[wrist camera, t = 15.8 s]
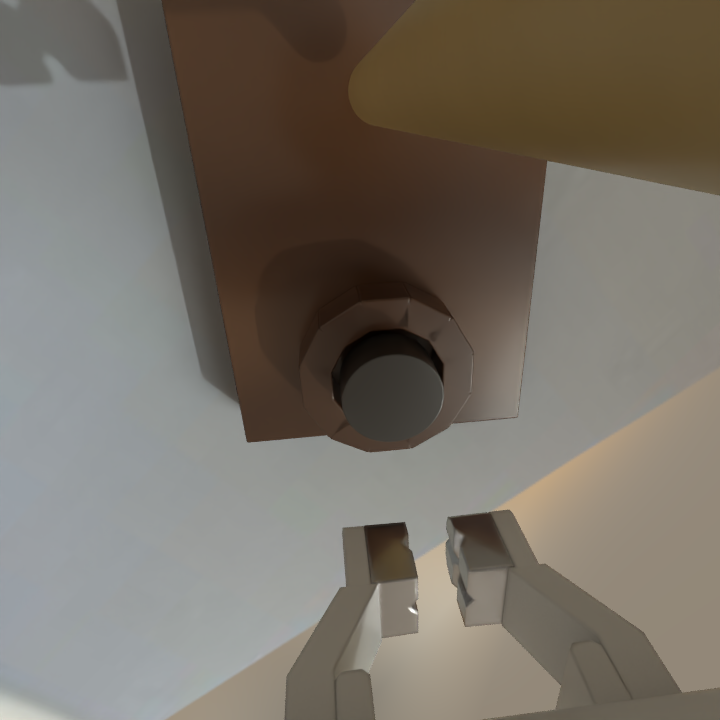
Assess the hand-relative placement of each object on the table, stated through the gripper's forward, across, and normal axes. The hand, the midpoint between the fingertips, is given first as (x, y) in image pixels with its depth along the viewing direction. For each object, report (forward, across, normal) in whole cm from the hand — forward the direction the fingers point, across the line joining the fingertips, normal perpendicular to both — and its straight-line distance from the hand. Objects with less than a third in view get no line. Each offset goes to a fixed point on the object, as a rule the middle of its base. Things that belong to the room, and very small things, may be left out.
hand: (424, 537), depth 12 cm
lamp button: (+8, 0, 0) cm, 8 cm away
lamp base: (+11, 0, -5) cm, 12 cm away
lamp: (+7, 0, -10) cm, 12 cm away
